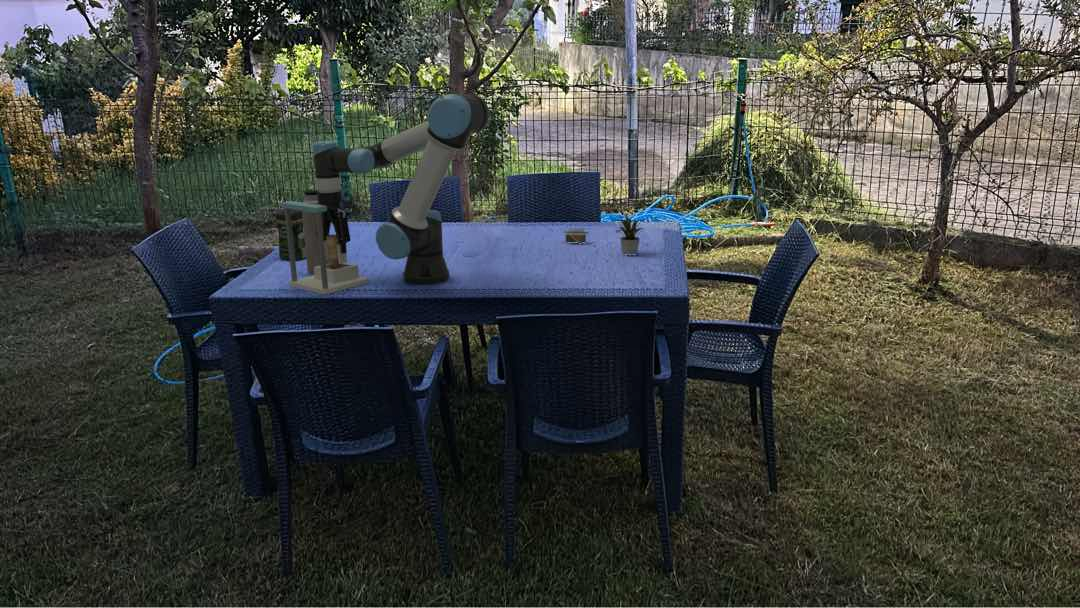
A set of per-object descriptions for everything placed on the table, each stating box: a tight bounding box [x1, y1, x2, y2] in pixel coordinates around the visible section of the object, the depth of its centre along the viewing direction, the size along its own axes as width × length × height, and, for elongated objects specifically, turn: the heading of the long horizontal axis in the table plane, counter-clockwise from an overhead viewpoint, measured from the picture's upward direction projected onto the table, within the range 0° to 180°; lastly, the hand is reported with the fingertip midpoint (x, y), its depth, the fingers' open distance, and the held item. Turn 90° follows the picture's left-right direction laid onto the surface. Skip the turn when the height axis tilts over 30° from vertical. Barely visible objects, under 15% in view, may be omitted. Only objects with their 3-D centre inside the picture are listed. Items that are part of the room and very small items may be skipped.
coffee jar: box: [275, 208, 306, 261], centre depth 286 cm, size 10×8×19 cm
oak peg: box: [326, 233, 342, 270], centre depth 251 cm, size 4×4×14 cm
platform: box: [562, 227, 589, 243], centre depth 307 cm, size 12×18×7 cm, turn 82°
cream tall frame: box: [280, 200, 370, 295], centre depth 248 cm, size 18×18×27 cm
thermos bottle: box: [302, 190, 329, 276], centre depth 263 cm, size 8×8×28 cm
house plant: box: [612, 212, 648, 255], centre depth 285 cm, size 14×14×16 cm
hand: (335, 261), depth 252 cm, fingers open, 7 cm apart
